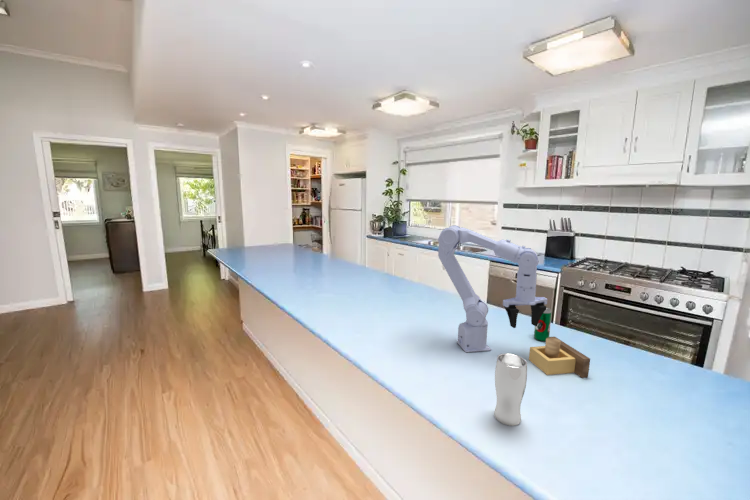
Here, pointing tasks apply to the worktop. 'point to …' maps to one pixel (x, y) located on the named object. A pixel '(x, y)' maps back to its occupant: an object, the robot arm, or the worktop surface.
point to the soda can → (543, 326)
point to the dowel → (552, 348)
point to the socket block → (552, 361)
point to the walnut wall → (577, 359)
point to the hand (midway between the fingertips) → (523, 325)
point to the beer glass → (509, 388)
